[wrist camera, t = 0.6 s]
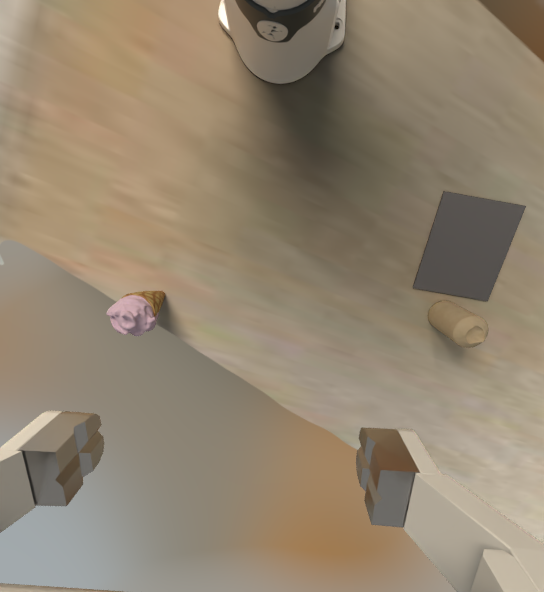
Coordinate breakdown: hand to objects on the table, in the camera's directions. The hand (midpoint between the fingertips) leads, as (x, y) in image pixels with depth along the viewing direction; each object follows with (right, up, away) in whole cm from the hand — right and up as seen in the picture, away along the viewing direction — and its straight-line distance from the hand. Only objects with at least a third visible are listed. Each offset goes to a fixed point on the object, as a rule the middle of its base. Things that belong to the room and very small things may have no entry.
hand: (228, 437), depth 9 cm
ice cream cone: (-20, +4, +47) cm, 51 cm away
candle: (+34, +1, +46) cm, 57 cm away
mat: (+36, +13, +42) cm, 57 cm away
